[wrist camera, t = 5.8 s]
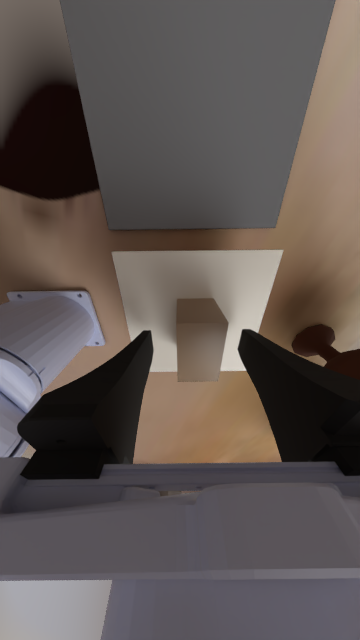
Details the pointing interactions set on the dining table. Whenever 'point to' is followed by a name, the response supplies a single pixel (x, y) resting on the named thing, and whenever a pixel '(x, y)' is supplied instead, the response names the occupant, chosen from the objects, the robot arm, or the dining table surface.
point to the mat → (194, 105)
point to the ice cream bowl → (327, 350)
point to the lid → (195, 305)
